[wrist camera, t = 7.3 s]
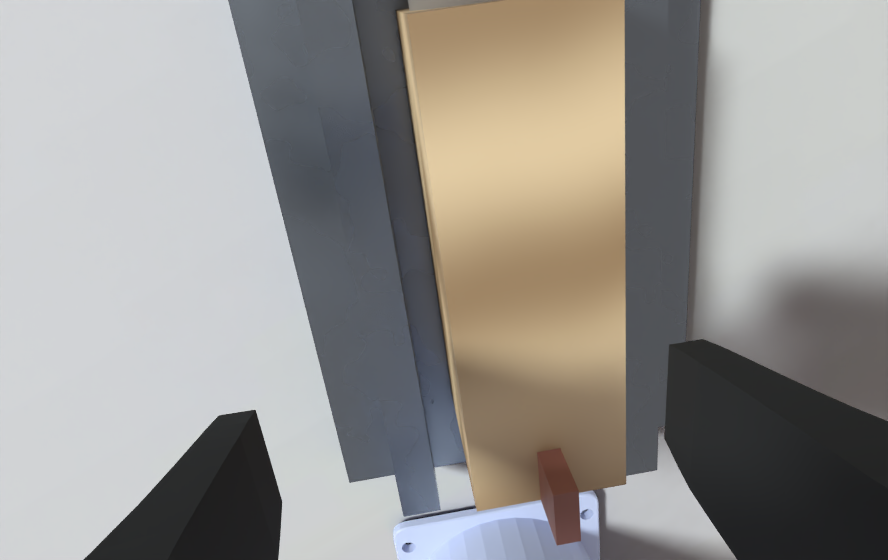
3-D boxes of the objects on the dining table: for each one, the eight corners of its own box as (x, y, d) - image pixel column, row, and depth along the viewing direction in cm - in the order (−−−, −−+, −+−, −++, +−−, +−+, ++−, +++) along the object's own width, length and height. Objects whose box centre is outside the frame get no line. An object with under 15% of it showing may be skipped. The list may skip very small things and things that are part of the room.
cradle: (670, 406, 23) (710, 460, 20) (350, 463, 22) (348, 526, 20) (689, -178, 16) (757, -216, 13) (207, -115, 15) (172, -141, 12)
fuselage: (569, 379, 21) (649, 528, 15) (452, 399, 21) (487, 558, 15) (546, -103, 15) (662, -170, 9) (382, -81, 15) (392, -135, 9)
